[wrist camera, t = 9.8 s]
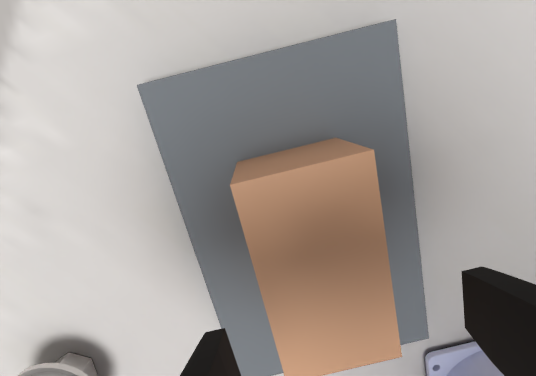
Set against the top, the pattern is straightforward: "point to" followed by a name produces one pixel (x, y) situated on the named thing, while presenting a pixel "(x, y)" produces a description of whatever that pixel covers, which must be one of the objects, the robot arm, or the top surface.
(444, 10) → the top surface
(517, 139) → the top surface
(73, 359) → the white flanged spindle
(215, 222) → the rubber mat
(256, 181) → the tan rectangular block
